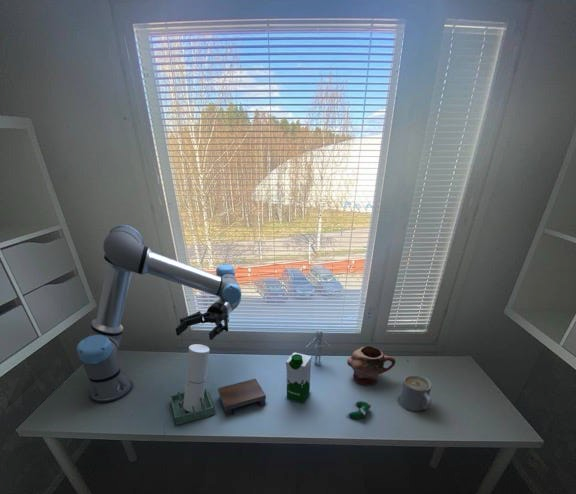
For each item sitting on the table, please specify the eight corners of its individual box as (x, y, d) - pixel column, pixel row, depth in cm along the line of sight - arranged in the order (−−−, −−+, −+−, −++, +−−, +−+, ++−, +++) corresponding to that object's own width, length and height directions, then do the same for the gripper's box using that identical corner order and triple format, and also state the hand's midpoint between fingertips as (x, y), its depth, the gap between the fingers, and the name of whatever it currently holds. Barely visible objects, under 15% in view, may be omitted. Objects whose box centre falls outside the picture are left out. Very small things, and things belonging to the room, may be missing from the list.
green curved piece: (353, 423, 121) (365, 418, 117) (347, 415, 121) (359, 410, 117) (362, 409, 128) (374, 404, 124) (356, 401, 127) (368, 396, 123)
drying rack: (171, 402, 129) (167, 388, 125) (206, 393, 133) (204, 379, 130) (176, 425, 118) (172, 410, 114) (214, 414, 123) (212, 400, 119)
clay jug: (386, 370, 147) (392, 343, 139) (395, 386, 137) (401, 359, 129) (343, 371, 146) (346, 344, 138) (348, 387, 136) (351, 360, 128)
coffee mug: (395, 395, 132) (399, 375, 126) (418, 393, 133) (423, 373, 127) (409, 418, 121) (415, 397, 115) (434, 415, 122) (441, 395, 116)
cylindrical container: (196, 414, 121) (203, 354, 111) (179, 408, 122) (185, 348, 112) (205, 405, 128) (213, 347, 118) (189, 399, 129) (195, 342, 118)
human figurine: (329, 362, 152) (332, 328, 142) (330, 366, 149) (333, 332, 139) (304, 362, 152) (305, 328, 142) (304, 367, 149) (305, 332, 139)
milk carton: (283, 399, 130) (283, 357, 119) (293, 386, 137) (293, 346, 126) (304, 405, 127) (305, 363, 116) (312, 392, 134) (314, 351, 123)
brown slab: (219, 397, 131) (217, 388, 128) (256, 387, 136) (255, 378, 134) (226, 416, 122) (225, 406, 119) (266, 405, 127) (265, 395, 124)
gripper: (247, 322, 134) (225, 347, 117) (194, 315, 140) (166, 339, 123) (246, 305, 130) (223, 329, 113) (191, 299, 136) (161, 321, 119)
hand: (193, 334), depth 118 cm, fingers open, 13 cm apart
